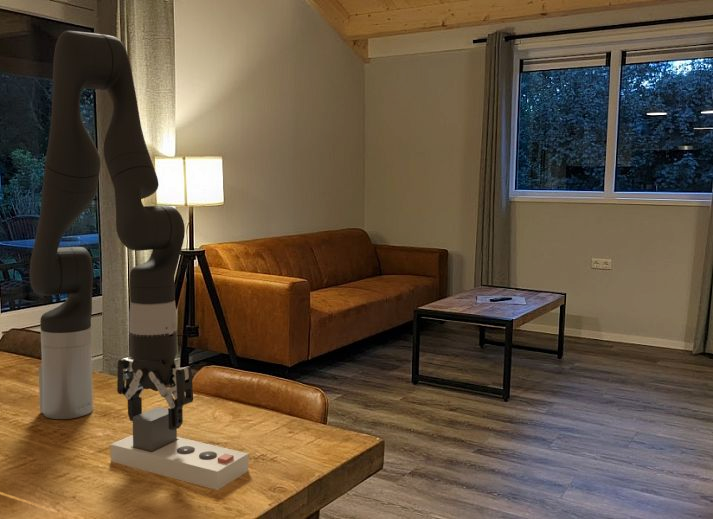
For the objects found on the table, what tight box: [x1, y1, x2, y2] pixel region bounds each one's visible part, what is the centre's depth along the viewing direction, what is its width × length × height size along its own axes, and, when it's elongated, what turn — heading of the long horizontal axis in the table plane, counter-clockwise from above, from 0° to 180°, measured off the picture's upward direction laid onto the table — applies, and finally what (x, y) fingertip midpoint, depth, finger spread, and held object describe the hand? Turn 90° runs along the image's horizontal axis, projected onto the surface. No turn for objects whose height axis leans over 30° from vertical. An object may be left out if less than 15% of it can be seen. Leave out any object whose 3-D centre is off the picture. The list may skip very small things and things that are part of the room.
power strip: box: [110, 434, 249, 491], centre depth 114 cm, size 23×8×4 cm, turn 64°
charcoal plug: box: [132, 406, 178, 452], centre depth 116 cm, size 4×6×8 cm, turn 154°
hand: (155, 424), depth 115 cm, fingers open, 8 cm apart
